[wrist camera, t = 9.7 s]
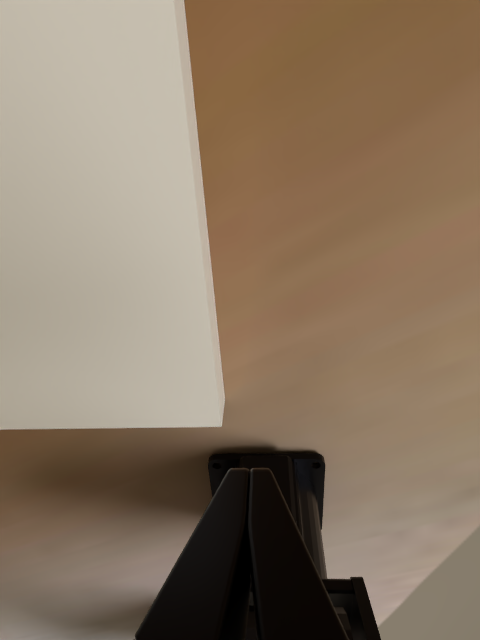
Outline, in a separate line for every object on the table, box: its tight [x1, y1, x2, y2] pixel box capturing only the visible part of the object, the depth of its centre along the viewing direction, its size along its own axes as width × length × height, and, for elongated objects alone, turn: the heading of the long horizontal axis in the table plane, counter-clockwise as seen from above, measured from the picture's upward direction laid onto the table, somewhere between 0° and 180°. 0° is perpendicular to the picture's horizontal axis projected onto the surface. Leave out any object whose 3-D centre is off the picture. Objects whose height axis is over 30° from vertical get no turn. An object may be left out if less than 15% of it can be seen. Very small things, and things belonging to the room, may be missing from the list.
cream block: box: [0, 0, 225, 430], centre depth 17 cm, size 18×12×2 cm, turn 4°
